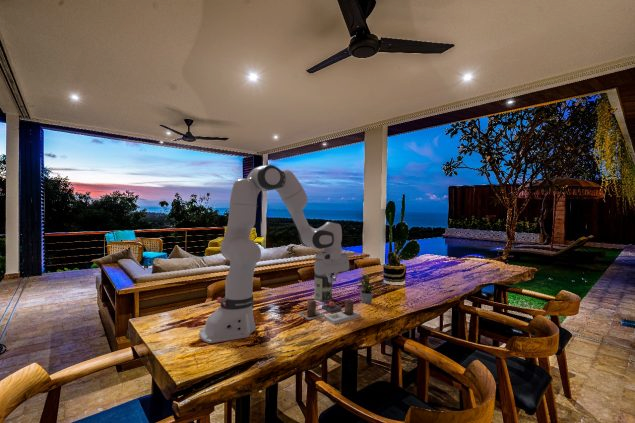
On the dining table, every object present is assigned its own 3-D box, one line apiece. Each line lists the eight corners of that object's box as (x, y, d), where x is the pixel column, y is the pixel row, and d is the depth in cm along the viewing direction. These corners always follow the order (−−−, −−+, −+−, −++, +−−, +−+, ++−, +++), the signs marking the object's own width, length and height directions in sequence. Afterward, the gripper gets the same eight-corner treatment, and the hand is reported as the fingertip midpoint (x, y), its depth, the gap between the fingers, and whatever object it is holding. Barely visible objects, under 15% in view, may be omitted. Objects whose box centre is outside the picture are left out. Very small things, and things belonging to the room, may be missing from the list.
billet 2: (348, 318, 138) (348, 303, 137) (342, 315, 141) (343, 301, 141) (354, 316, 140) (355, 302, 140) (349, 314, 143) (349, 299, 143)
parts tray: (308, 322, 135) (308, 318, 135) (298, 315, 142) (298, 312, 142) (324, 318, 140) (324, 314, 140) (313, 312, 147) (313, 309, 147)
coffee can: (333, 297, 173) (333, 273, 173) (330, 302, 163) (331, 277, 163) (316, 295, 175) (316, 272, 175) (312, 301, 165) (312, 276, 165)
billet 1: (310, 318, 138) (310, 303, 138) (305, 315, 142) (305, 300, 142) (317, 316, 141) (317, 301, 141) (312, 313, 144) (312, 299, 144)
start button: (331, 309, 148) (331, 303, 148) (327, 307, 150) (327, 302, 150) (335, 308, 149) (335, 302, 149) (332, 306, 152) (332, 301, 151)
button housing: (330, 314, 145) (330, 309, 145) (321, 310, 150) (321, 305, 150) (341, 312, 149) (341, 307, 149) (332, 307, 154) (332, 303, 154)
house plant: (347, 299, 169) (348, 271, 169) (369, 297, 173) (370, 269, 173) (358, 307, 155) (359, 276, 155) (382, 305, 160) (382, 275, 159)
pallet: (333, 326, 131) (333, 320, 131) (324, 321, 136) (324, 315, 136) (360, 319, 140) (360, 313, 140) (350, 314, 146) (350, 309, 146)
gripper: (344, 251, 158) (343, 277, 158) (312, 254, 146) (312, 282, 146) (352, 253, 153) (351, 280, 153) (320, 256, 141) (319, 285, 141)
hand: (332, 281), depth 149 cm, fingers closed
